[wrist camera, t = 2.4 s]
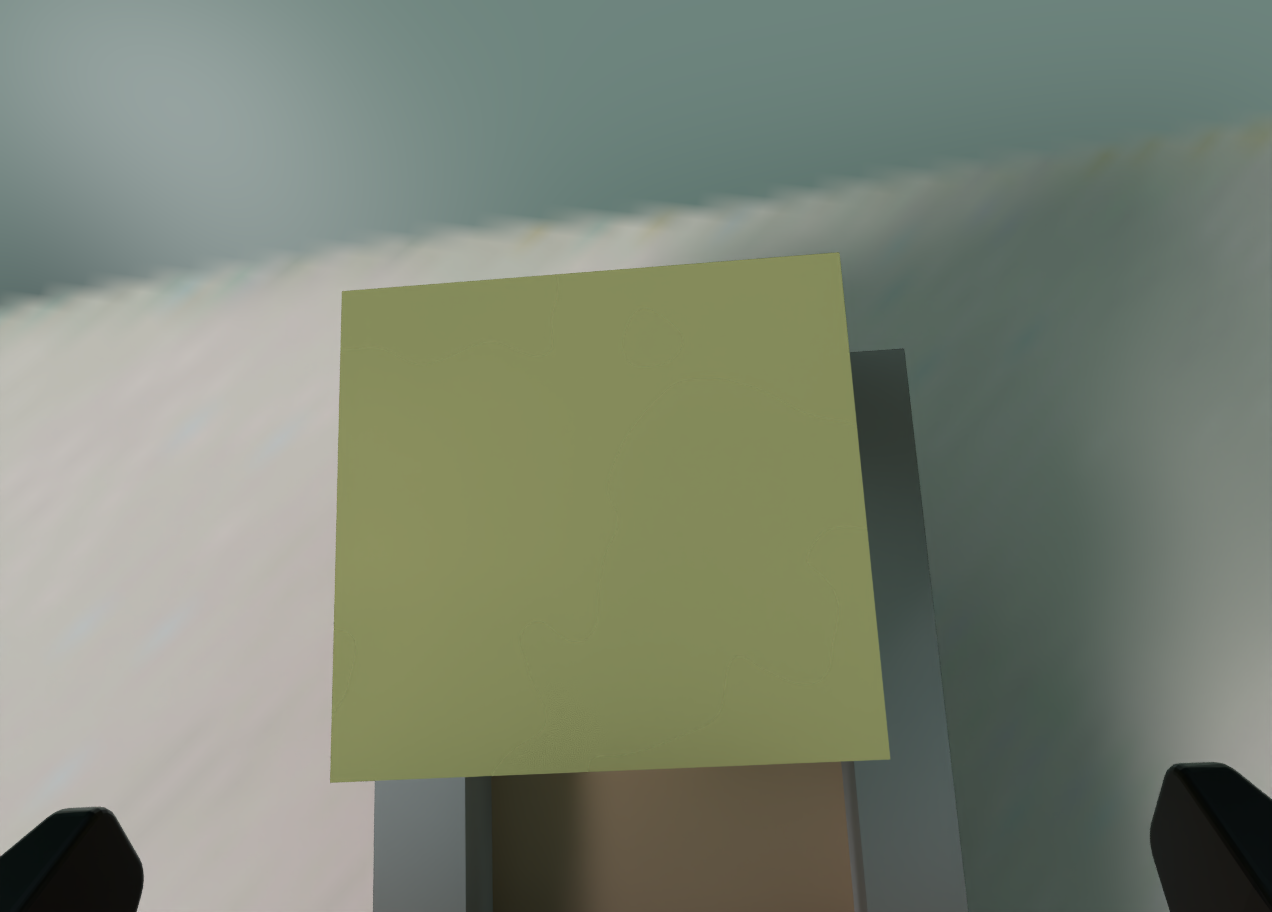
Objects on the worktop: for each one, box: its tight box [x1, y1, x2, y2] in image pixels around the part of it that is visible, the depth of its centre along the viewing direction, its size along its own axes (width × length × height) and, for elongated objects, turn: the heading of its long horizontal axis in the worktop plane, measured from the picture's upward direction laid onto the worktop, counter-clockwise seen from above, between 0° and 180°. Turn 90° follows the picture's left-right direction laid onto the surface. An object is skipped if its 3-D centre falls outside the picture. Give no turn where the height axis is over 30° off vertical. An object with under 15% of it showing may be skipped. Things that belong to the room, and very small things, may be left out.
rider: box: [330, 252, 890, 783], centre depth 11 cm, size 4×4×7 cm
